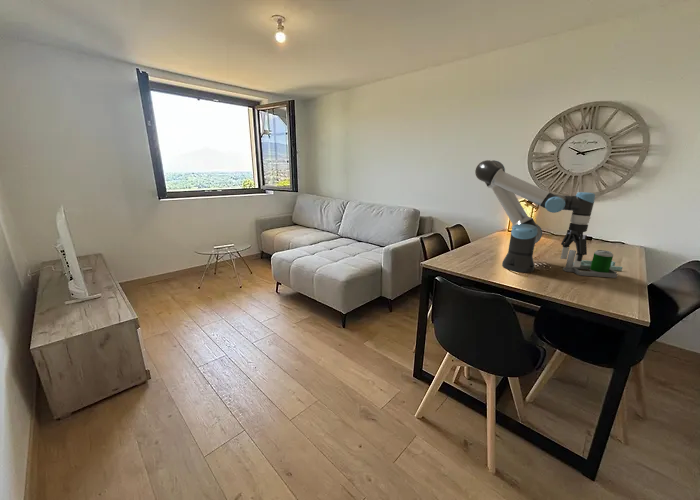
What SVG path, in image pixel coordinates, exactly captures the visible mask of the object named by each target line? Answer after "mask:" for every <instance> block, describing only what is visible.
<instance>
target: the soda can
mask: <svg viewBox="0 0 700 500" xmlns="http://www.w3.org/2000/svg"><path fill="white" fill-rule="evenodd" d="M613 257H614V254H613V252H612V251H608V250H603V249H597V250H595V251H594V253H593V257H592V260H591V261H592V263H591V267H590V270H589V272H602V273H609V269H610V266H611V262H612V261H613Z"/></svg>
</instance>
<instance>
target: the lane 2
mask: <svg viewBox="0 0 700 500" xmlns="http://www.w3.org/2000/svg"><path fill="white" fill-rule="evenodd" d="M591 263H592V260H586V259H584V260H583V259H582V261H581V265H588V266H591ZM573 264H574V262H573ZM610 269H612V270H614V271H616V272H617V271H622V270H623V266H616V261H614V260H612V262H611V266H610Z"/></svg>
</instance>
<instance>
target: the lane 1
mask: <svg viewBox="0 0 700 500" xmlns="http://www.w3.org/2000/svg"><path fill="white" fill-rule="evenodd" d="M576 253H577V250H575V249H569V251H568V255H567V259H566V264H565V267H562V271H564V272H568V273H569V272H570V273H574V274H576V275H577V276H585V277H586V276H588V277H599V278H602V277H604V278H611V279H612V278H613V279H617V278H618V273H617V270H612V269H609V273H602V272H591V271H590V267H591V266H588V265H580V267H574V266H573V265H574V264H573V262H574V261H575V257H576ZM586 270H587V271H586Z"/></svg>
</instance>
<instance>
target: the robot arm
mask: <svg viewBox="0 0 700 500" xmlns="http://www.w3.org/2000/svg"><path fill="white" fill-rule="evenodd" d="M474 171H475V174H474V175H475V176H476V178H477V180H479V181H481V182H484V183H485V185H486V187H487V189H491V190H492V191H493V193H494V195H495V197H496V198H497V200H498V202H499V203H500V205H501V207H502V208H503V211H504V212H505V213H506V215H507V217H508V218H509V221H510V222H511V223H512V224H511V228H510V229H511V230H510V238H509V244H508V249H507V254H506V255H505V256H504V259H503V261H502V264H501V266H502V267H503V268H504V269H506V270H509V271H512V272H519V273H532V272H534V271H535V263H534V258H533V256H534V250H535V246H536V245H535V244H537V243H538V242H539V241H540V240H541V239H542V236H543V230H542V228H541V226H539V224H537V223H536V221H535V220H534V218H533V217H531V216H528V214H527V212H526V211H525V209H524V208H523V206H522V204H521V202H520V201H519V199H518V197H520V198H523V199H524V200H525V199H526V200H527V201H529V202H531V203H533V204H535V205H537V206H540V207H541V208H544V209H545V210H547V212H550V213H553V214H554V213H560V212H562V211H568V212H569V211H571V216H570V223H569V226H568V229H567V231H566V234H565V236H564V237H563V239H562V241H561V243H560V244H561V246H562V250H561V255H560V259H561V260H567V259H568V254H569V250H570V246H571V244H572V243H575V247H576V254H575V258H574V265H573V266H574V267H580V265H581V261H582V260H583V256H586V255H587V254H588V253H587V252H588V251H587V250H588V249H587V240H588V239H587V238H588V235H587V234H584V233H586V232H587V231H588V228H589V223H590V219H591V215H592V213H593V212H592V211H593V208H594V204H595V199H596V194H595V193H594V192H586V191H578V192H576V194H575V195H564V194H555V193H552V192H550V191H547V190H545V189H543V188H541V187H538V186H536V185H535V184H532V183H530V182H528V181H525V180H523V179H521V178H518V177H516V176H514V175H512V174H510V173H507V172H506V168H505V166H504V164H503V163H502V162H500V161H499V160H491V159H490V160H488V159H487V160H483V161H480V162H479V163H478V164H477V166H476V167H475V170H474ZM517 196H518V197H517Z"/></svg>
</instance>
